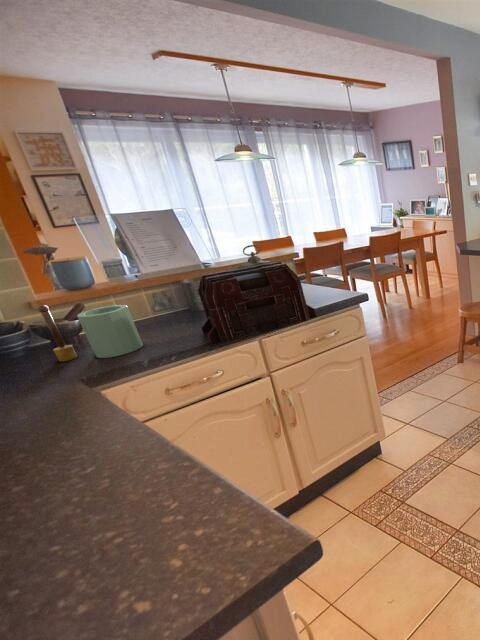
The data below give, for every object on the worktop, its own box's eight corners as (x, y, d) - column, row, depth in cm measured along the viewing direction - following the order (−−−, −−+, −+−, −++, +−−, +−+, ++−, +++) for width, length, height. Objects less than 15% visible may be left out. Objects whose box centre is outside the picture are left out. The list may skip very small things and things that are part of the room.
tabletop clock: (255, 309, 181) (237, 249, 172) (244, 306, 186) (225, 248, 177) (287, 299, 192) (272, 242, 183) (276, 297, 197) (260, 241, 188)
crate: (301, 308, 178) (288, 257, 170) (319, 317, 165) (305, 262, 157) (202, 333, 156) (181, 276, 148) (212, 345, 143) (191, 284, 135)
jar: (108, 359, 138) (89, 318, 132) (88, 355, 142) (69, 315, 137) (150, 345, 148) (134, 306, 142) (130, 341, 153) (114, 303, 147)
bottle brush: (62, 362, 138) (35, 307, 131) (56, 360, 140) (28, 306, 133) (80, 356, 142) (54, 303, 135) (73, 355, 144) (47, 302, 137)
